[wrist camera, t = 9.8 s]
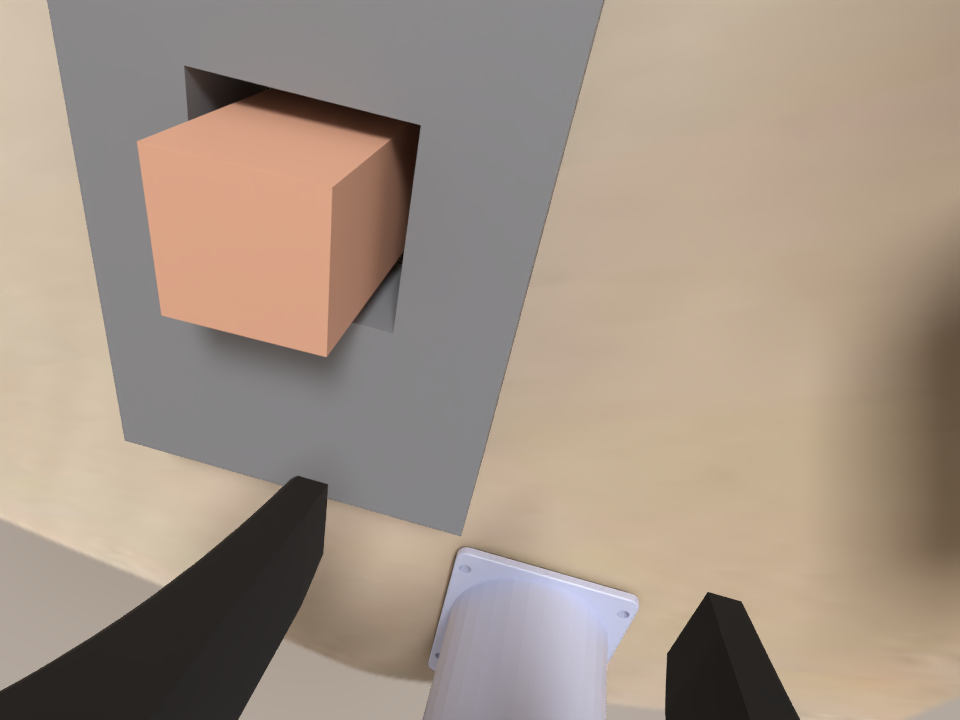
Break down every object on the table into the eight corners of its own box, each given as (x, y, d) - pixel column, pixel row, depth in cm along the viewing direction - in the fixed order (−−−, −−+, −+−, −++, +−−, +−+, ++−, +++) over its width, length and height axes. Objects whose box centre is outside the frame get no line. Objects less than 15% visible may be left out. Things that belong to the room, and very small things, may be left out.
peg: (411, 240, 20) (326, 357, 14) (292, 211, 20) (161, 315, 15) (426, 110, 18) (332, 187, 12) (291, 79, 18) (137, 141, 12)
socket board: (482, 457, 24) (460, 536, 21) (190, 375, 25) (124, 440, 22) (666, -233, 13) (681, -295, 10) (125, -351, 14) (-33, -447, 10)
